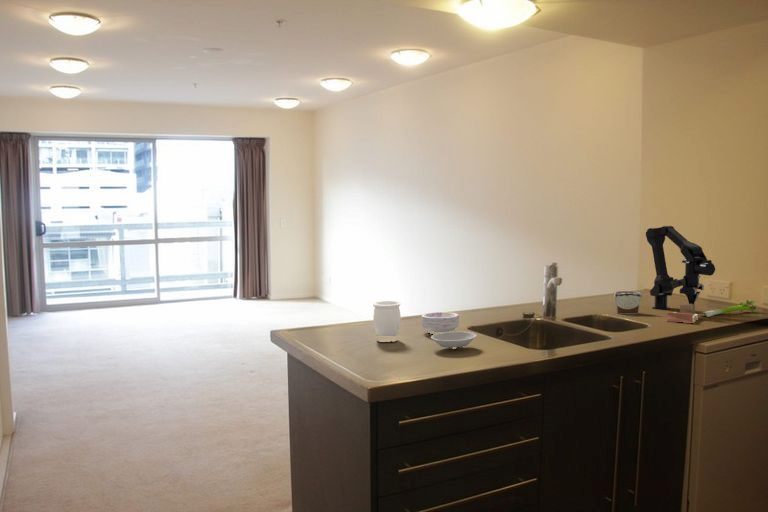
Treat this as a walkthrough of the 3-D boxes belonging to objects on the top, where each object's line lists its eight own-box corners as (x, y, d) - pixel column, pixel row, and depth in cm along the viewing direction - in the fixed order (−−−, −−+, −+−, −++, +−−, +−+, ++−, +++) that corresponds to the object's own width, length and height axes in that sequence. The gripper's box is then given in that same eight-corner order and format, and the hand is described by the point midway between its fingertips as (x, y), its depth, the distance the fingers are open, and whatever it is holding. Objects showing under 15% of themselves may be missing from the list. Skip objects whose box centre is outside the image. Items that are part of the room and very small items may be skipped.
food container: (637, 311, 290) (637, 290, 289) (641, 314, 284) (641, 292, 283) (610, 311, 291) (610, 290, 290) (614, 314, 285) (614, 292, 284)
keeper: (682, 316, 277) (682, 303, 276) (694, 317, 274) (695, 304, 273) (679, 318, 273) (680, 304, 272) (692, 319, 270) (692, 305, 269)
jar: (381, 345, 232) (380, 306, 231) (369, 340, 241) (368, 302, 240) (405, 341, 237) (405, 303, 236) (393, 336, 246) (392, 300, 245)
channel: (673, 317, 274) (673, 308, 274) (697, 319, 268) (698, 310, 267) (667, 321, 265) (667, 312, 265) (691, 323, 259) (692, 314, 259)
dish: (462, 342, 234) (461, 329, 233) (485, 350, 221) (485, 336, 221) (423, 348, 225) (422, 335, 225) (445, 356, 213) (444, 342, 212)
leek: (697, 319, 279) (747, 309, 288) (709, 324, 272) (760, 313, 281) (698, 307, 277) (748, 297, 286) (710, 311, 271) (761, 301, 280)
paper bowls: (438, 328, 261) (437, 310, 261) (466, 333, 250) (466, 314, 250) (414, 334, 251) (413, 315, 250) (442, 339, 240) (442, 319, 239)
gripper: (678, 270, 290) (677, 303, 291) (667, 274, 275) (667, 308, 276) (704, 271, 283) (703, 305, 284) (694, 275, 268) (694, 311, 269)
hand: (691, 307), depth 279 cm, fingers closed
